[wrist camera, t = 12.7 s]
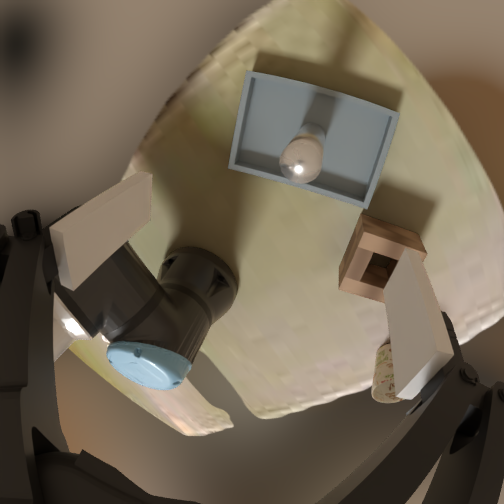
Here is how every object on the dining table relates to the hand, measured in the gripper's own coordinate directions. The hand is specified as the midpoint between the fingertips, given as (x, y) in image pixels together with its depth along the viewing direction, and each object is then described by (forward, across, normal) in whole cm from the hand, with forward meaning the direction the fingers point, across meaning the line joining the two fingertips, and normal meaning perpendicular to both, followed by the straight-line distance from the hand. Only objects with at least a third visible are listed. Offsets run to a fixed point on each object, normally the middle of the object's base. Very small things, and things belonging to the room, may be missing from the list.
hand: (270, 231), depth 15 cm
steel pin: (+28, 0, 0) cm, 28 cm away
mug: (+30, +27, -33) cm, 52 cm away
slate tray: (+29, 0, 0) cm, 29 cm away
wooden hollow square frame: (+29, +15, -14) cm, 36 cm away
